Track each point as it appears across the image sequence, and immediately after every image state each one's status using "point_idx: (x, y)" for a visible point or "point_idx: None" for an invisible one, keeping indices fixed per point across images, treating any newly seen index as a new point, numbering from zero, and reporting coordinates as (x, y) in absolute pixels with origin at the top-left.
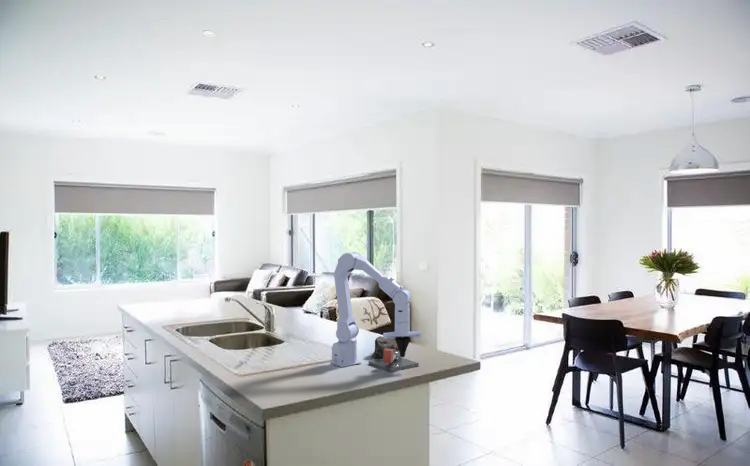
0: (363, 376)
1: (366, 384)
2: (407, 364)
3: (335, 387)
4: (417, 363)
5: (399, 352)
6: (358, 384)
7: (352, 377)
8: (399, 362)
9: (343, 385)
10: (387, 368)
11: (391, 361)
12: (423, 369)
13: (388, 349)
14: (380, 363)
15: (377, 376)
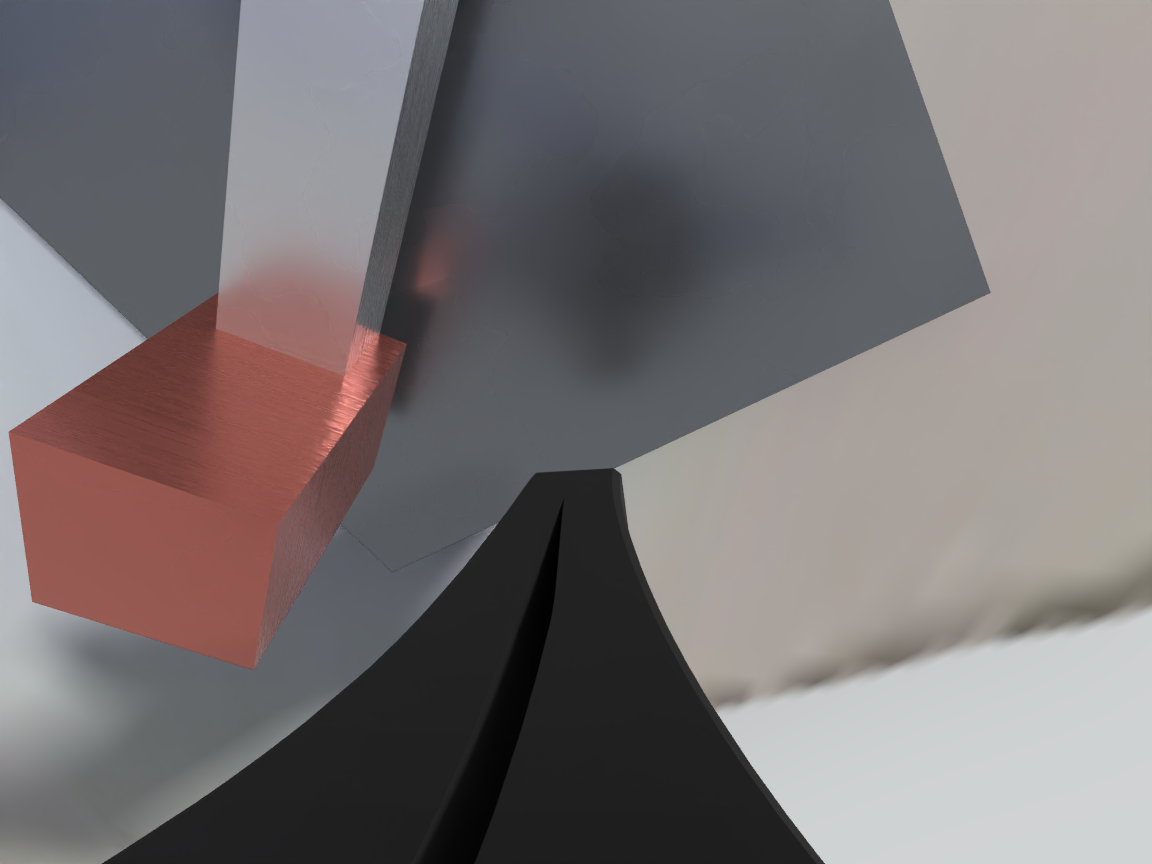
0: (122, 642)
1: None
2: (707, 378)
3: (21, 815)
4: (955, 305)
5: (502, 519)
6: (166, 795)
7: (22, 654)
8: (560, 205)
9: (57, 795)
10: (348, 518)
11: (370, 461)
12: (951, 473)
13: (143, 553)
14: (161, 263)
15: (275, 659)
